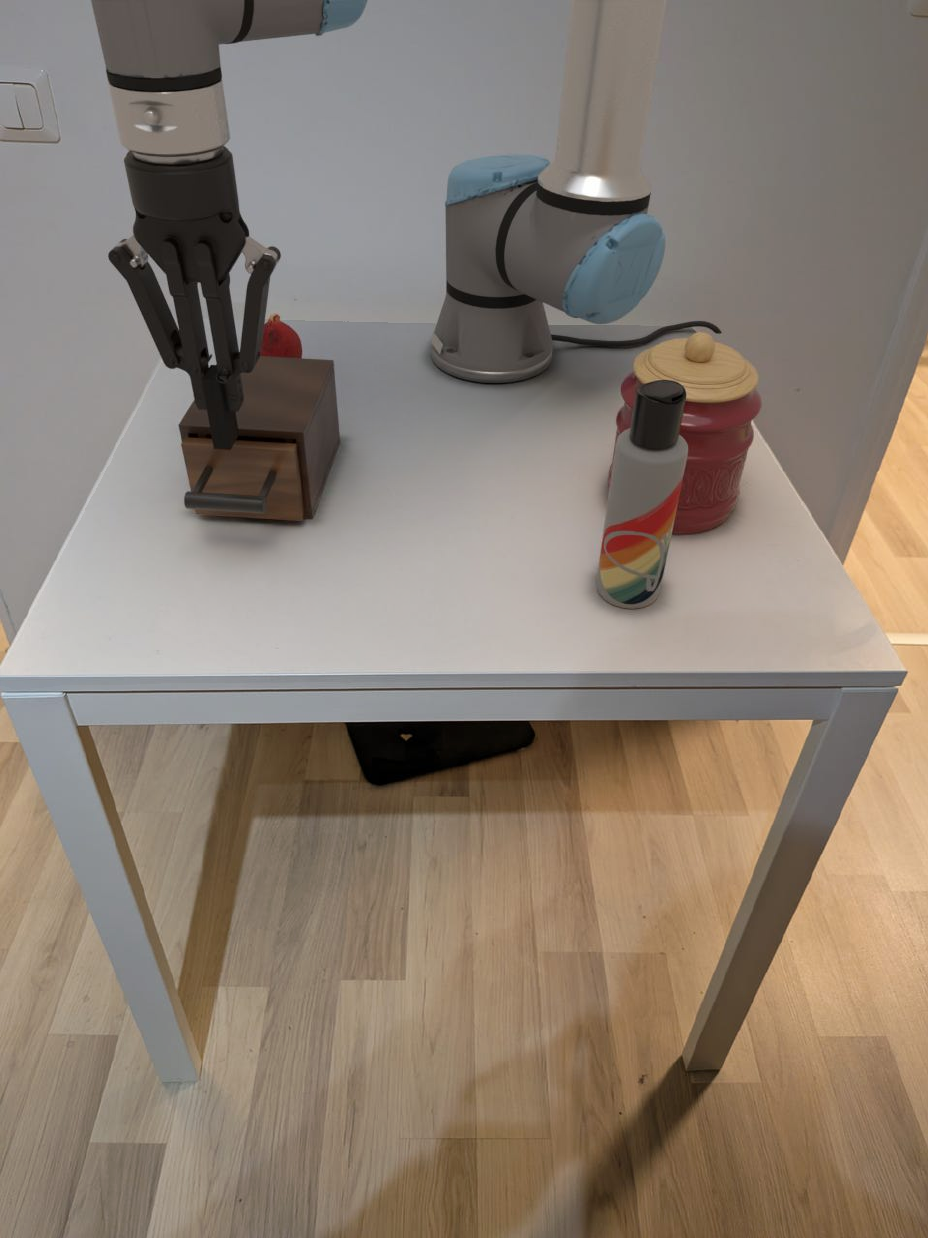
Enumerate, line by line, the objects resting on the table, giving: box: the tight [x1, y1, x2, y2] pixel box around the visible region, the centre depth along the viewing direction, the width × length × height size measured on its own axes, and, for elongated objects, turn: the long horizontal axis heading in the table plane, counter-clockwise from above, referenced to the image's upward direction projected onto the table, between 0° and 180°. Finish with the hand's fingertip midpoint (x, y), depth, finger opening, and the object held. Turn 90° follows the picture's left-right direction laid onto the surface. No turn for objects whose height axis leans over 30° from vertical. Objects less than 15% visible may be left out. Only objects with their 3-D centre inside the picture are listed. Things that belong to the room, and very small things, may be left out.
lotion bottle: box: [596, 380, 688, 610], centre depth 77 cm, size 6×6×20 cm
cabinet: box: [178, 356, 341, 520], centre depth 93 cm, size 15×12×10 cm
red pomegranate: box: [260, 312, 303, 358], centre depth 110 cm, size 6×6×8 cm
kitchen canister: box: [607, 331, 763, 534], centre depth 88 cm, size 13×13×18 cm
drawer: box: [180, 434, 305, 522], centre depth 89 cm, size 19×10×8 cm, turn 175°
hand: (226, 441), depth 81 cm, fingers closed
